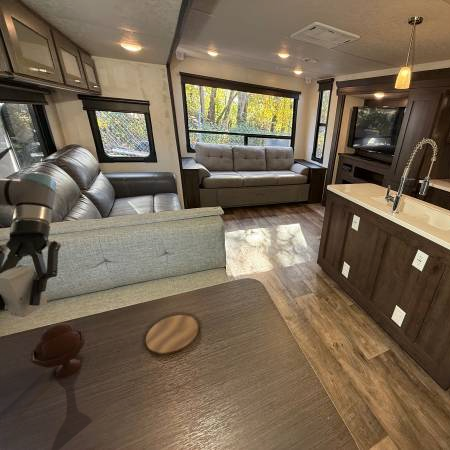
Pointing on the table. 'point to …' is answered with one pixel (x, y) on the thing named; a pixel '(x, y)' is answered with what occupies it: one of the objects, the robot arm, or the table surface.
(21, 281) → the cosmetic box
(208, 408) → the table surface
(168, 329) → the wooden trivet
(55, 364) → the ice cream bowl
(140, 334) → the table surface
